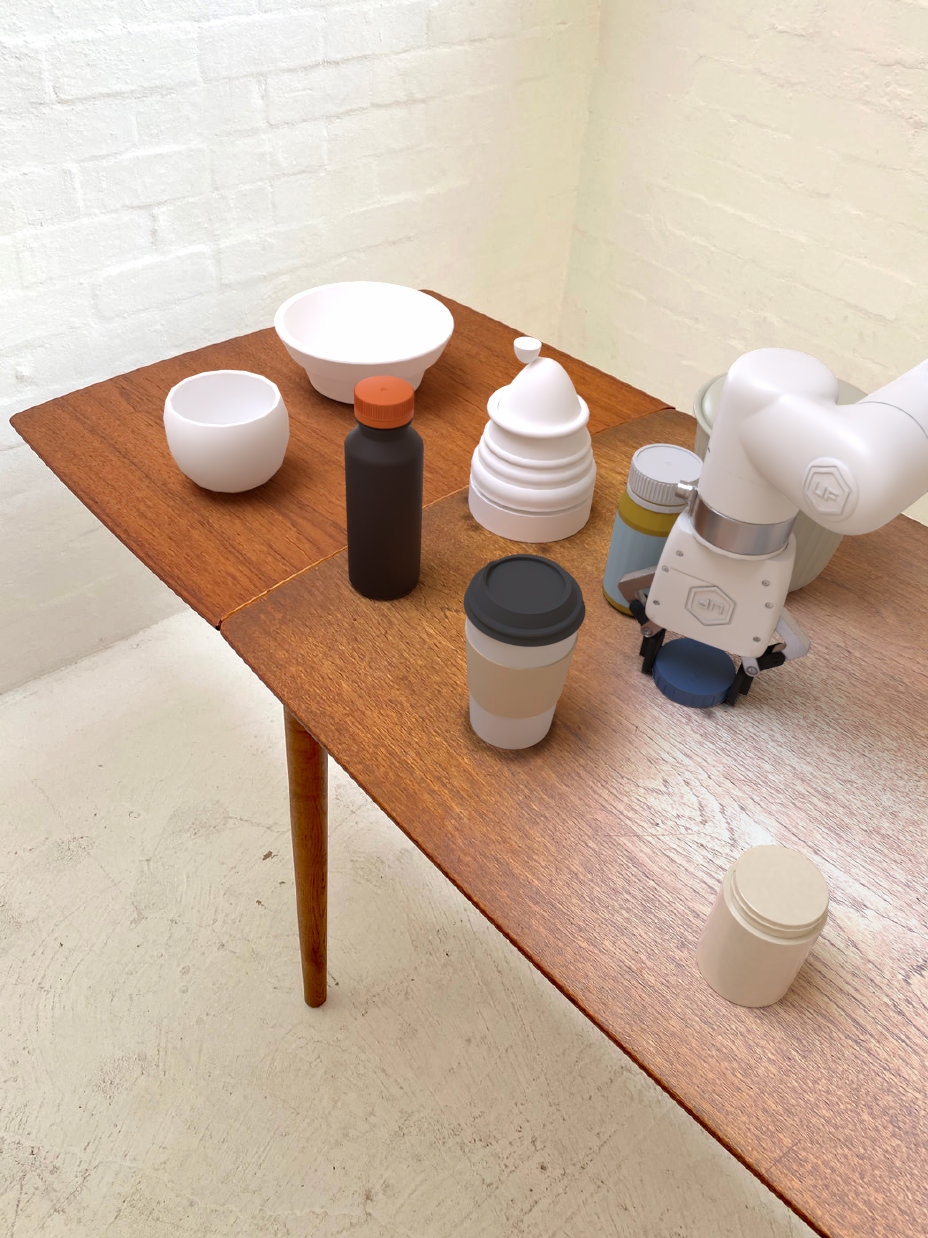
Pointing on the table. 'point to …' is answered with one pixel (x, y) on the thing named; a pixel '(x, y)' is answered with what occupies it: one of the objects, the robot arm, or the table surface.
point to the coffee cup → (519, 646)
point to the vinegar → (384, 489)
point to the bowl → (363, 334)
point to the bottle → (647, 513)
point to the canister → (810, 536)
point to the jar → (762, 925)
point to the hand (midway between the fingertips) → (691, 677)
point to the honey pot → (534, 455)
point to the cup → (227, 429)
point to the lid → (693, 673)
